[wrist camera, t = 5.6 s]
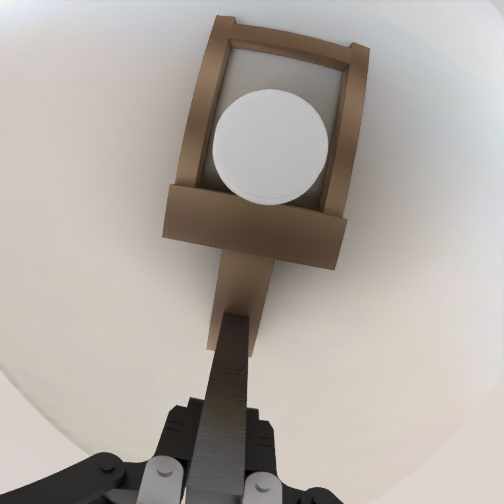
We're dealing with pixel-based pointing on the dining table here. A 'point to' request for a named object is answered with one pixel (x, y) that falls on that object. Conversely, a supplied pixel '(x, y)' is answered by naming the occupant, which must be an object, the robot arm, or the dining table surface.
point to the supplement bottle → (270, 146)
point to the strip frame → (253, 239)
